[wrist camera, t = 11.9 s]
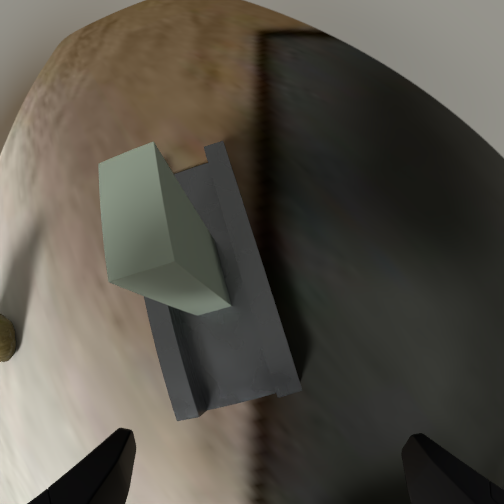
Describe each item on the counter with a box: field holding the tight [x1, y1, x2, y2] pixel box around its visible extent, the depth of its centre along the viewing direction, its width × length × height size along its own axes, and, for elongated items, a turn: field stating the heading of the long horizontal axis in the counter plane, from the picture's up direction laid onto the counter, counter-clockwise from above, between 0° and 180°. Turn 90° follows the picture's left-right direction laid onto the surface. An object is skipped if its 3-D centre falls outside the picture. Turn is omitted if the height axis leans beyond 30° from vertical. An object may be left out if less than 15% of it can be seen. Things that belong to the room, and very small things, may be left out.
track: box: [144, 141, 302, 421], centre depth 22 cm, size 18×8×3 cm, turn 17°
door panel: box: [99, 142, 232, 316], centre depth 16 cm, size 5×2×12 cm, turn 16°
